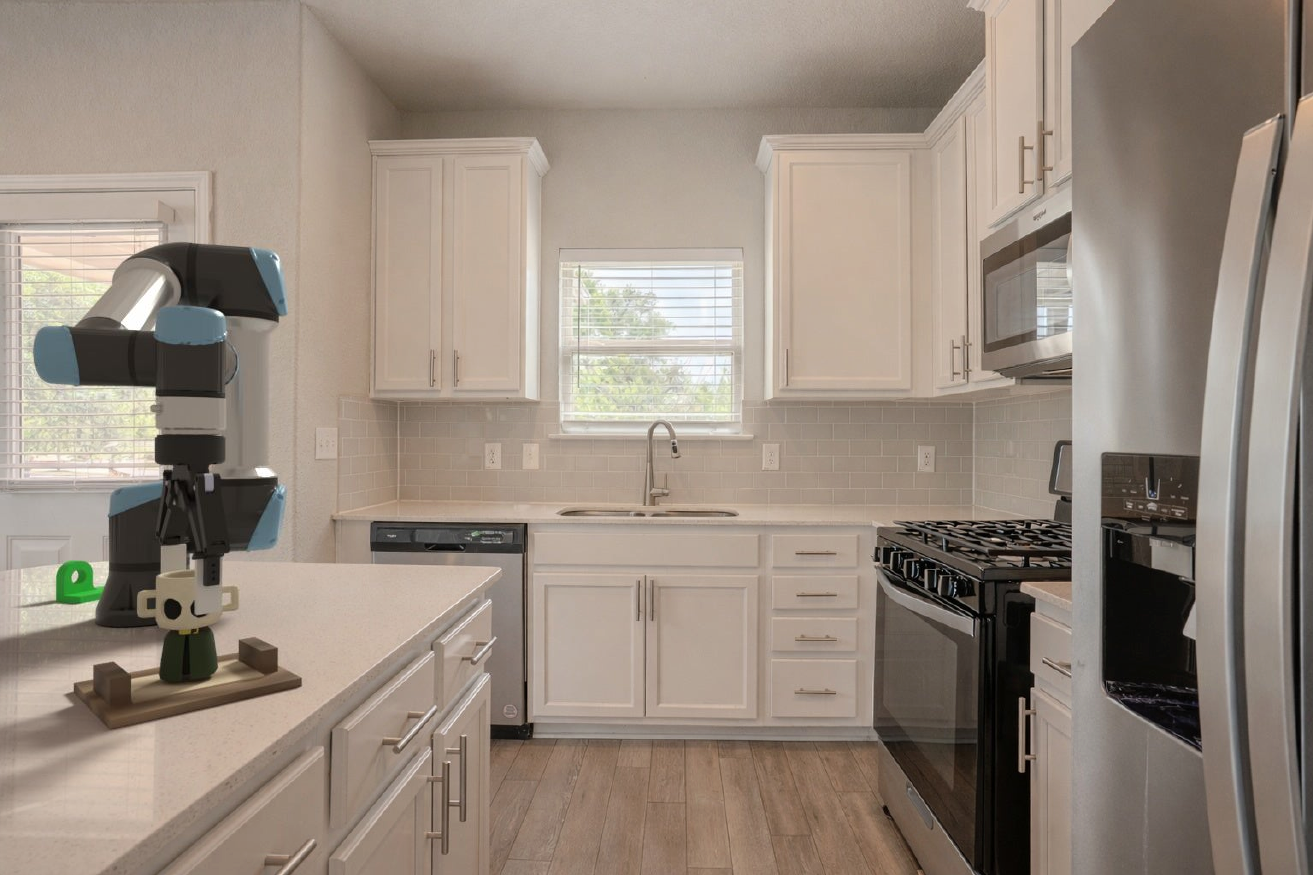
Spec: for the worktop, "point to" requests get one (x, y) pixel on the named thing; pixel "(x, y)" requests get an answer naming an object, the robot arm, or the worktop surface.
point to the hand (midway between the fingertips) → (190, 603)
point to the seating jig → (183, 686)
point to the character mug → (184, 625)
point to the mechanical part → (76, 583)
